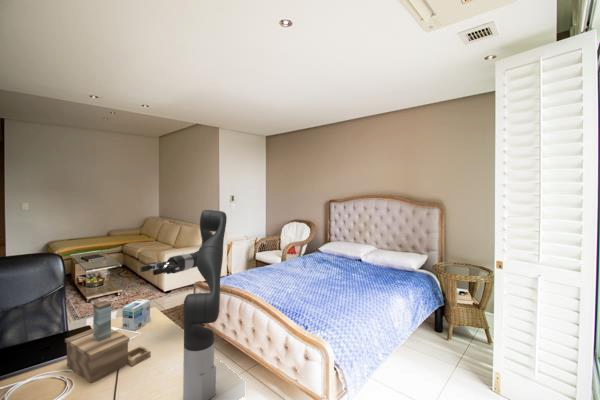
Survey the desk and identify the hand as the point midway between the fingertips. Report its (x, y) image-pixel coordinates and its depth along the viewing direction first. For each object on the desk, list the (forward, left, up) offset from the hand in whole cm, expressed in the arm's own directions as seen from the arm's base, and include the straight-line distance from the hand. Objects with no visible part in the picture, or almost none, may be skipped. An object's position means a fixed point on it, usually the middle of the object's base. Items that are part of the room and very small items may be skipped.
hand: (147, 271), depth 115 cm
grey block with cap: (+3, +16, -22) cm, 27 cm away
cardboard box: (+3, +13, -32) cm, 35 cm away
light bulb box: (+22, -8, -32) cm, 40 cm away
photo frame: (+19, +4, -33) cm, 38 cm away
